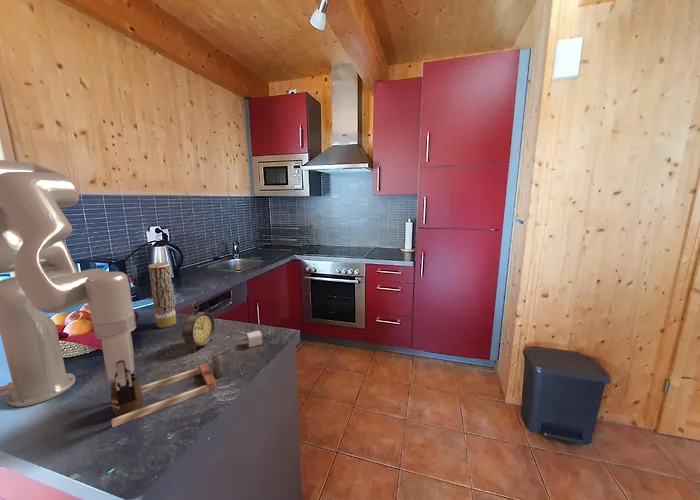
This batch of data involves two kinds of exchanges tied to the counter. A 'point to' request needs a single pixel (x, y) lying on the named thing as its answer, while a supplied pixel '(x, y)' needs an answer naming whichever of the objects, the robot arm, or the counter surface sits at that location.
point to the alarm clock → (198, 328)
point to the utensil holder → (129, 406)
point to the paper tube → (162, 294)
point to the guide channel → (157, 406)
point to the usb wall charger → (253, 339)
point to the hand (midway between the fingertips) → (127, 391)
